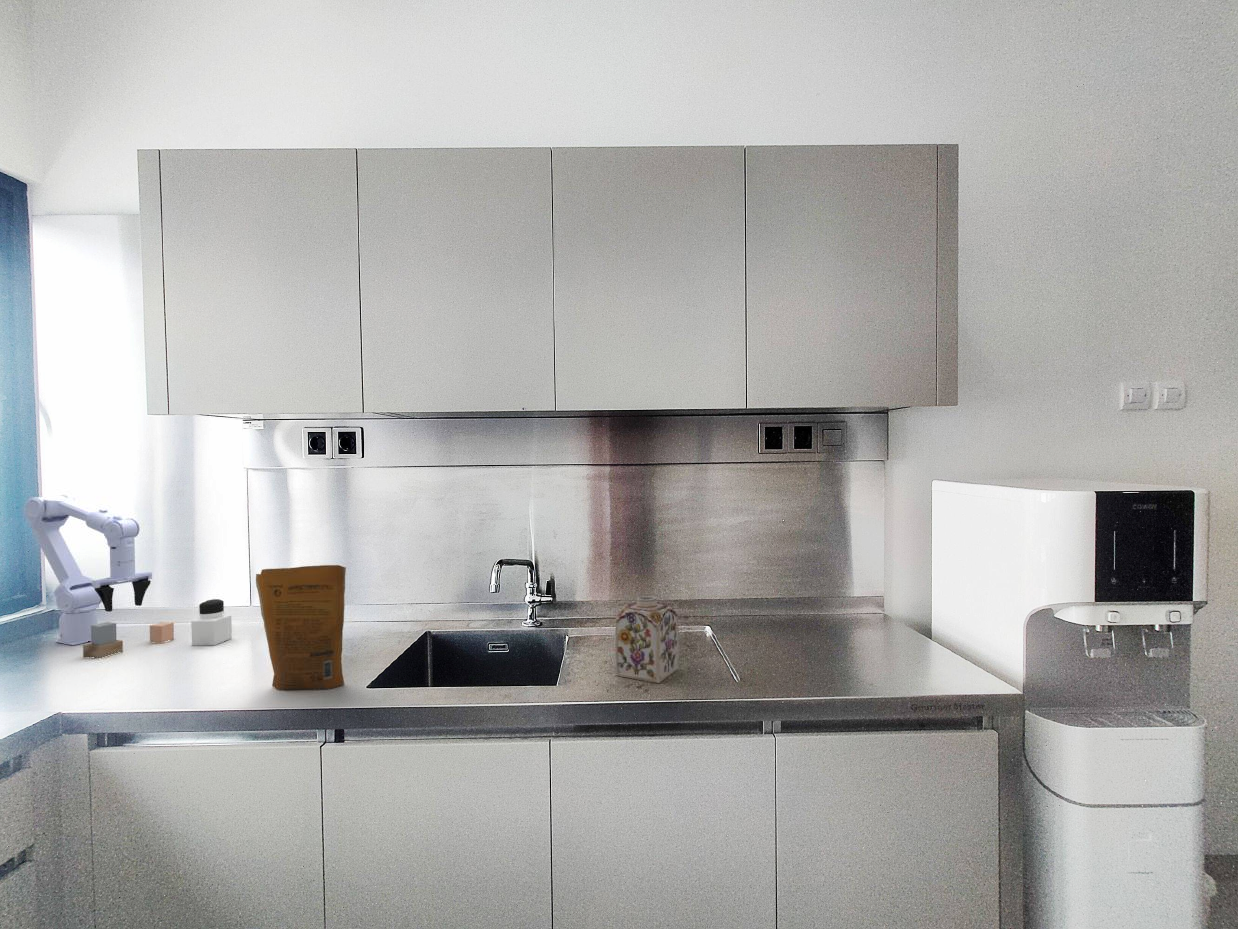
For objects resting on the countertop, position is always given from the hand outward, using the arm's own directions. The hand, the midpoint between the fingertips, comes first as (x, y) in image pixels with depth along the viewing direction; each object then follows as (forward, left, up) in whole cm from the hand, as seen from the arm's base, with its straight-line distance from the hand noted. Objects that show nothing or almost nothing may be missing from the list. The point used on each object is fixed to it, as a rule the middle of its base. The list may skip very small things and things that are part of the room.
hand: (123, 608), depth 186 cm
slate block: (+8, -9, -7) cm, 14 cm away
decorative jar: (+150, +33, -10) cm, 154 cm away
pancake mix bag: (+82, -6, -10) cm, 83 cm away
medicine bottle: (+24, +10, -10) cm, 28 cm away
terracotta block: (+9, +5, -10) cm, 14 cm away
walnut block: (+8, -9, -10) cm, 16 cm away
